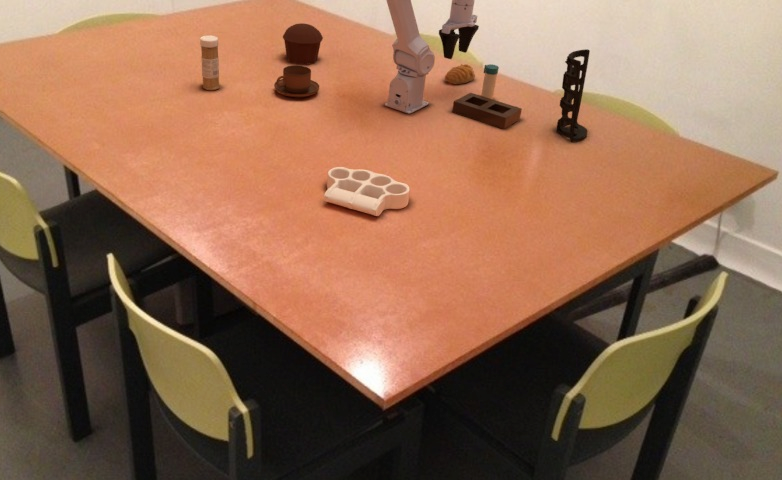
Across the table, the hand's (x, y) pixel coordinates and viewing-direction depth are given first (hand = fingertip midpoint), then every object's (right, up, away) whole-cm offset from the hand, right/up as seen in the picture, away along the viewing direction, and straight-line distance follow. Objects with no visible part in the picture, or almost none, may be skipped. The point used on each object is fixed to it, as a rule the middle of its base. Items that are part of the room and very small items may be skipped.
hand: (455, 54), depth 206 cm
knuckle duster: (-26, -43, -46) cm, 69 cm away
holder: (+26, -23, -13) cm, 38 cm away
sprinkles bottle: (-65, -9, -1) cm, 66 cm away
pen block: (+7, -18, -7) cm, 20 cm away
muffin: (-42, +5, +21) cm, 47 cm away
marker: (+9, -11, +3) cm, 15 cm away
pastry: (+3, -3, +14) cm, 15 cm away
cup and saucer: (-43, -10, 0) cm, 44 cm away
